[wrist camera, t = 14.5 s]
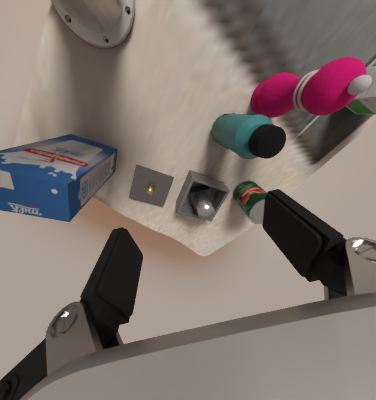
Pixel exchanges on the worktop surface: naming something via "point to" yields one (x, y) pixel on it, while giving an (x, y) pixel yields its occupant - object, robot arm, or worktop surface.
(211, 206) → the silver rounded piece
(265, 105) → the pepper mill
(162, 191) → the stud plate
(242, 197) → the canned tomato
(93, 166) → the milk carton
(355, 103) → the skincare box
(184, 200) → the bin
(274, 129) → the beverage bottle
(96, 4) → the robot arm
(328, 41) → the worktop surface
